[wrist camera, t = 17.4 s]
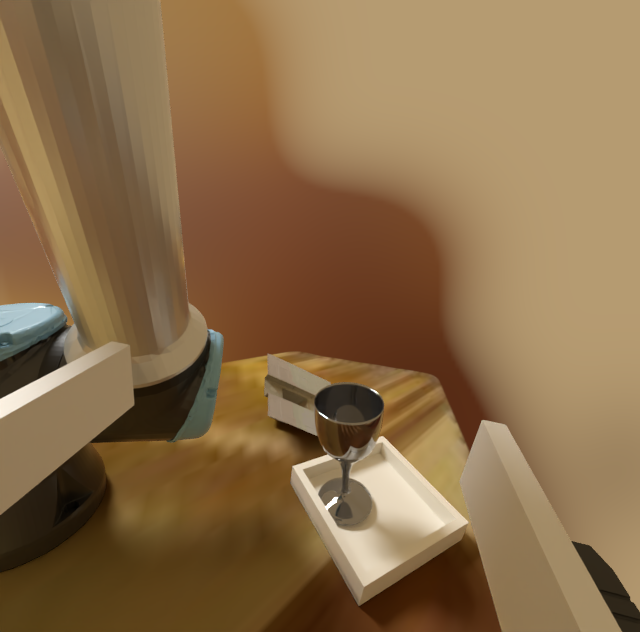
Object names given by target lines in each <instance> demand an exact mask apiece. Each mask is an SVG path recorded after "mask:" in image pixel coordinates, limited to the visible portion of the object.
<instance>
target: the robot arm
mask: <svg viewBox="0 0 640 632" xmlns="http://www.w3.org/2000/svg"><path fill="white" fill-rule="evenodd" d="M0 146H1V149H2V151H3V154H4V156H5V158H6V161H7V163H8V166H9V168H10V170H11V172H12V175H13V177H14V180H15V182H16V185H17V187H18V189H19V192H20V194H21V197H22V199H23V201H24V204H25V206H26V208H27V211H28V213H29V216H30V218H31V220H32V223H33V225H34V228H35V230H36V232H37V235H38V237H39V239H40V242H41V244H42V247H43V249H44V251H45V254H46V256H47V258H48V261H49V263H50V265H51V268H52V270H53V273H54V275H55V278H56V280H57V282H58V285H59V287H60V289H61V292H62V294H63V296H64V299H65V301H66V304H67V306H68V309H69V311H70V313H71V316H72V318H73V320H74V325H72V326H68V325H66V322H67V317H66V315H64V312H63V311H62V309H60V308H59V307H57V306H53V305H51V304H44V303H21V304H10V305H2V306H0V572H1V571H5V570H8V569H11V568H14V567H17V566H19V565H22V564H24V563H27V562H29V561H31V560H33V559H35V558H37V557H39V556H41V555H43V554H45V553H46V552H48V551H50V550H51V549H53V548H55V547H56V546H58V545H59V544H61V543H62V542H63V541H65V540H66V539H68V538H69V537H70V536H71V535H73V534H74V533H75V532H76V531H77V530H78V529H79V528H80V527H81V526H83V525H84V524H85V522H86V521H87V520H88V519H89V518H90V517H91V516H92V514H93V513H94V512H95V510H96V509H97V507H98V506H99V504H100V502H101V500H102V498H103V496H104V493H105V489H106V474H105V466H104V463H103V460H102V458H101V456H100V455H99V454H98V452H97V451H96V449H95V448H94V447H93V445H92V444H91V443H102V442H132V441H162V440H166V441H167V442H175V441H177V440H183V439H194V438H199V437H201V436H203V435H204V434H206V432H207V431H208V430H209V428H210V426H211V423H212V419H213V414H214V409H215V403H216V396H217V389H218V383H219V378H220V371H221V363H222V354H223V342H224V339H223V335H222V334H220V333H219V332H214V331H213V330H209V329H207V326H206V321H205V319H204V317H203V315H202V314H201V313H200V312H199V311H198V310H197V309H196V308H195V307H194V306H193V305H191V304H190V303H188V296H187V285H186V274H185V263H184V252H183V242H182V231H181V220H180V209H179V198H178V189H177V177H176V166H175V156H174V144H173V133H172V123H171V112H170V101H169V90H168V79H167V68H166V57H165V47H164V36H163V25H162V14H161V3H160V0H0ZM460 485H461V488H462V492H463V496H464V499H465V503H466V506H467V510H468V513H469V517H470V520H471V524H472V528H473V531H474V535H475V538H476V542H477V545H478V549H479V552H480V556H481V559H482V563H483V567H484V570H485V574H486V577H487V581H488V584H489V588H490V591H491V595H492V599H493V602H494V606H495V609H496V613H497V616H498V620H499V623H500V627H501V630H502V632H640V612H639V610H638V609H637V608H636V606H635V604H634V603H633V602H631V601H630V596H629V594H628V593H627V591H626V590H625V588H624V587H623V585H622V583H621V582H620V580H619V579H618V577H617V575H616V574H615V572H614V571H613V570H612V568H610V566H609V565H608V564H607V563H606V562H605V561H604V560H603V559H602V558H601V557H600V556H599V555H598V554H597V553H596V552H595V550H593V548H592V547H591V546H589V545H585V544H581V543H577V542H573V541H571V540H570V538H569V537H568V535H567V533H566V531H565V529H564V528H563V526H562V524H561V522H560V520H559V519H558V517H557V515H556V513H555V512H554V510H553V508H552V506H551V505H550V503H549V501H548V499H547V497H546V496H545V494H544V492H543V490H542V488H541V487H540V485H539V483H538V481H537V480H536V478H535V476H534V474H533V472H532V471H531V469H530V467H529V465H528V463H527V462H526V460H525V458H524V456H523V454H522V453H521V451H520V449H519V447H518V446H517V444H516V442H515V440H514V439H513V437H512V435H511V433H510V432H509V430H508V428H507V426H506V425H504V424H499V423H495V422H490V421H486V420H482V422H481V424H480V427H479V430H478V433H477V435H476V438H475V441H474V443H473V446H472V449H471V451H470V454H469V457H468V460H467V462H466V465H465V468H464V470H463V473H462V476H461V478H460Z"/></svg>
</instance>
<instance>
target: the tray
mask: <svg viewBox="0 0 640 632" xmlns="http://www.w3.org/2000/svg"><path fill="white" fill-rule="evenodd" d="M339 477H342V471H341V466H340V464H339V462H338V461H336V460H335V459H333V458H332V457H330V456H329V455H325V456H322V457H319V458H316V459H313V460H310V461H307V462H304V463H301V464H298V465H295V466H293V467H292V475H291V482H290V483H291V485H292V487H293V489H294V491H295V492H296V494H297V496H298V498H299V500H300V501H301V503H302V505H303V507H304V509H305V510H306V512H307V514H308V516H309V518H310V519H311V521H312V523H313V525H314V527H315V528H316V530H317V532H318V534H319V536H320V538H321V539H322V541H323V543H324V545H325V547H326V548H327V550H328V552H329V554H330V556H331V557H332V559H333V561H334V563H335V565H336V566H337V568H338V570H339V572H340V574H341V575H342V577H343V579H344V581H345V583H346V585H347V586H348V588H349V590H350V592H351V594H352V595H353V597H354V599H355V601H356V603H357V604H358V606H360V605H362V604H363V603H365V602H366V601H368V600H369V599H371V598H372V597H374V596H375V595H377V594H379V593H380V592H382V591H383V590H385V589H386V588H388V587H389V586H391V585H392V584H394V583H396V582H397V581H399V580H400V579H402V578H403V577H405V576H406V575H408V574H409V573H411V572H413V571H414V570H416V569H417V568H419V567H420V566H422V565H423V564H425V563H426V562H428V561H429V560H431V559H433V558H434V557H436V556H437V555H439V554H440V553H442V552H443V551H445V550H446V549H448V548H450V547H451V546H453V545H454V544H456V543H457V542H459V541H460V540H462V537H463V535H464V533H465V530H466V528H467V525H468V523H469V522H468V521H467V520H466V519H465V518H464V517H463V516H462V515H461V514H460V513H459V512H458V511H457V510H456V509H455V508H454V507H453V506H452V505H451V504H450V503H449V502H448V501H447V500H446V499H445V498H444V497H443V496H442V495H441V494H440V493H439V492H438V491H437V490H436V489H435V488H434V487H433V486H432V485H431V484H430V483H429V482H428V481H427V480H426V479H425V478H424V477H423V476H422V475H421V474H420V473H419V472H418V471H417V470H416V469H415V468H414V467H413V466H412V465H411V464H410V463H409V462H408V461H407V460H406V459H405V458H404V457H403V456H402V455H401V454H400V453H399V452H398V451H397V450H396V449H395V448H394V447H393V446H392V445H391V444H390V443H389V442H388V441H387V440H386V439H385V438H384V437H383V436H382V437H379V438H378V440H377V443H376V445H375V447H374V449H373V450H372V452H371V453H370V454H369V455H368V456H367V457H365V458H364V459H362V460H360V461H358V462H356V463H354V464H353V465H352V467H351V471H350V475H349V478H351V479H354V480H357V481H359V482H360V483H362V484H363V485H364V486H365V487H366V488H367V489H368V491H369V492H370V494H371V497H372V509H371V512H370V514H369V515H368V517H367V518H366V519H364V520H363V521H362V522H360V523H358V524H354V525H339V524H336V523H335V521H334V520H333V518H332V516H331V515H330V513H329V512H328V510H327V508H326V507H325V505H324V503H323V502H322V500H321V499H320V497H319V495H318V492H319V490H320V488H321V487H322V486H323V485H324V484H325V483H326V482H328V481H329V480H332V479H334V478H339Z"/></svg>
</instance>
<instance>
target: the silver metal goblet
mask: <svg viewBox="0 0 640 632" xmlns="http://www.w3.org/2000/svg"><path fill="white" fill-rule="evenodd" d="M383 413H384V401H383V399H382V397H381V396H380V394H379V393H377V392H376V391H375V390H373V389H372V388H370V387H368V386H365V385H362V384H357V383H350V382H342V383H334V384H331V385H328V386H326V387H324V388H322V389H321V390H319V391H318V393H317V394H316V396H315V399H314V421H315V426H316V432H317V436H318V439H319V442H320V444H321V446H322V448H323V449H324V451H325V452H326V453H327V454H328V455H329V456H330V457H332V458H333V459H335V460H336V461H338V462H339V464H340V466H341V471H342V477H339V478H334V479H332V480H329V481H328V482H326V483H325V484H324V485H323V486H322V487H321V488H320V490H319V492H318V495H319V497H320V499H321V500H322V502H323V503H324V505H325V507H326V508H327V510H328V512H329V513H330V515H331V516H332V518H333V520H334V521H335V523H336V524H339V525H354V524H358V523H360V522H362V521H363V520H364V519H366V518H367V517H368V515H369V514H370V512H371V509H372V497H371V494H370V492H369V491H368V489H367V488H366V487H365V486H364V485H363V484H362V483H360V482H359V481H357V480H354V479H351V478H349V475H350V471H351V467H352V465H353V464H354V463H356V462H358V461H360V460H362V459H364V458H365V457H367V456H368V455H369V454H370V453H371V452H372V450H373V449H374V447H375V445H376V443H377V440H378V438H379V435H380V431H381V428H382V422H383Z"/></svg>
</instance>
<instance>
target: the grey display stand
mask: <svg viewBox="0 0 640 632" xmlns="http://www.w3.org/2000/svg"><path fill="white" fill-rule="evenodd" d="M328 385H330V382H327V381H326V380H324V379H322V378H319V377H318V376H315V375H313V374H311V373H309V372H307V371H305V370H303V369H301V368H298V367H297V366H295V365H292V364H290V363H288V362H286V361H283V360H282V359H280V358H277V357H275V356H273V355H271V354H268V375H267V376H266V377H265V388H264V389H265V390H264V392H265V393H264V394H265V395H264V396H266V397H268V416H270V417H271V418H273V419H276V420H278V421H281V422H284V423H286V424H288V423H289V424H290V425H293V426H295V427H297V428H300V429H301V430H304V431H306V432H308V433H311V434H314V435H316V436H317V432H316V426H315V421H314V399H315V396H316V394H317V393H318V391H319V390H321V389H322V388H324V387H326V386H328Z"/></svg>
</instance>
